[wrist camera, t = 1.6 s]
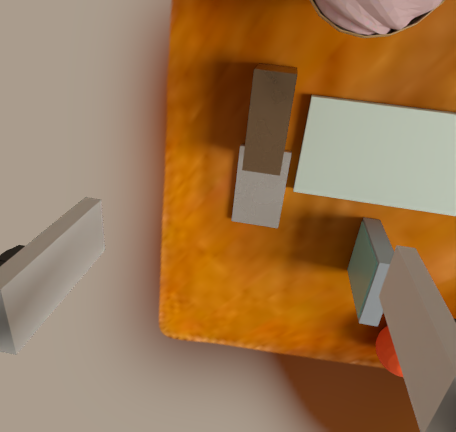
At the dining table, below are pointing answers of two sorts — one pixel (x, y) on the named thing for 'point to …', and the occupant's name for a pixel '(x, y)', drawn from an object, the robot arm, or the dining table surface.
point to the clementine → (387, 352)
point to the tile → (369, 270)
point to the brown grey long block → (265, 147)
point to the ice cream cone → (373, 15)
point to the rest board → (379, 154)
